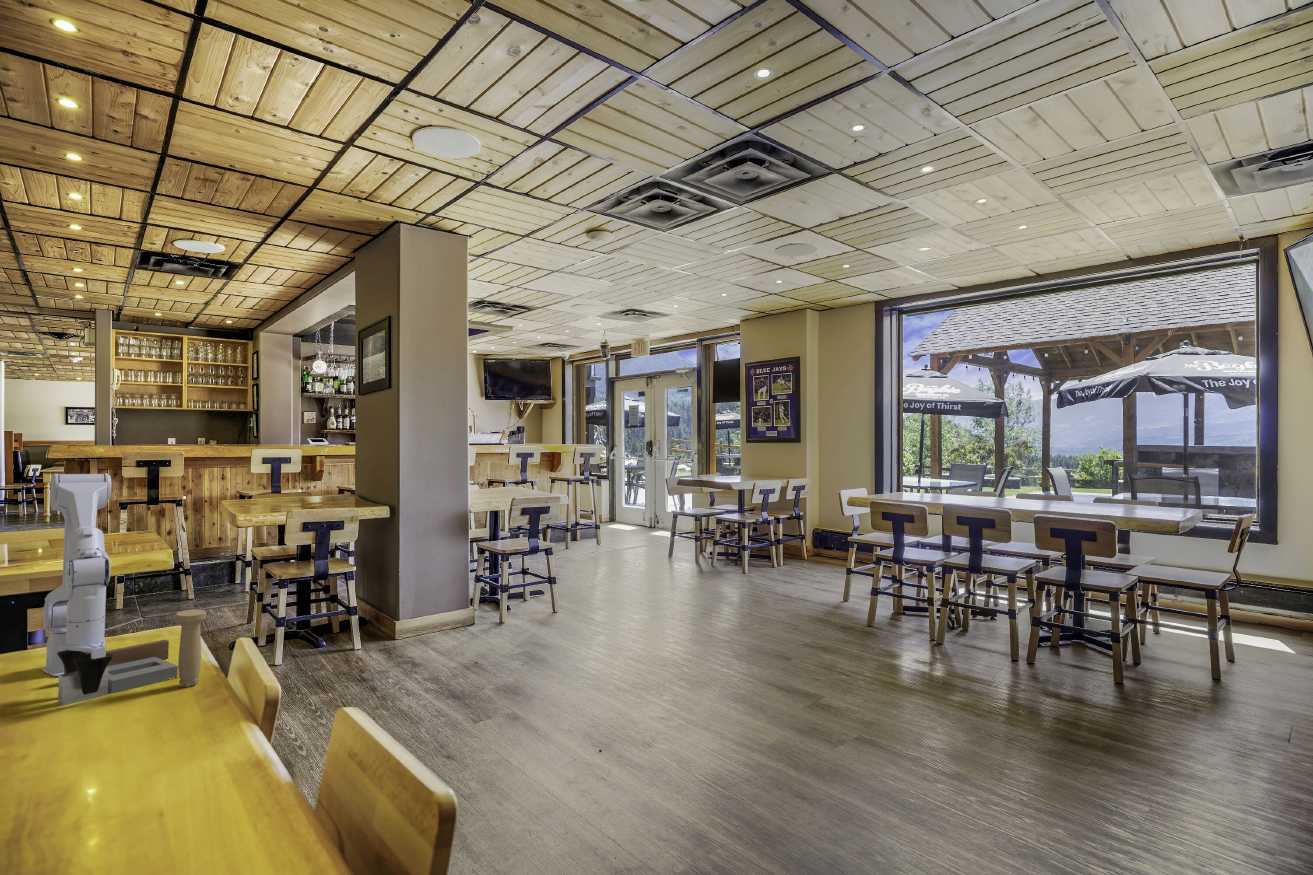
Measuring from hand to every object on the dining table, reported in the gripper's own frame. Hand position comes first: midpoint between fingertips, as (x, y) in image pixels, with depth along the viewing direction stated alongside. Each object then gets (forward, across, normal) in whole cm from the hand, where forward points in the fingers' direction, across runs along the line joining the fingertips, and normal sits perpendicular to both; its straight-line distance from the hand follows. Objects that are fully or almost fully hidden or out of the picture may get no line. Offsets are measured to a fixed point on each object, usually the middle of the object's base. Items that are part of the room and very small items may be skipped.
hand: (83, 689), depth 129 cm
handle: (+2, +8, +15) cm, 17 cm away
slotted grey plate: (+2, -5, +10) cm, 11 cm away
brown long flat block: (+2, -14, +10) cm, 17 cm away
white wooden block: (+2, 0, 0) cm, 2 cm away
